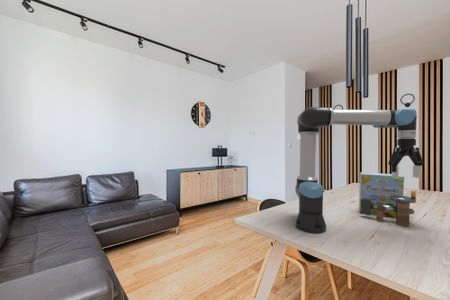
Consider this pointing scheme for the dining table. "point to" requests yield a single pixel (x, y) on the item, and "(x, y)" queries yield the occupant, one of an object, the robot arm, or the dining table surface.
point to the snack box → (380, 190)
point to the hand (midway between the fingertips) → (405, 177)
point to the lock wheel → (405, 198)
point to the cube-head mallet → (368, 205)
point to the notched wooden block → (401, 213)
